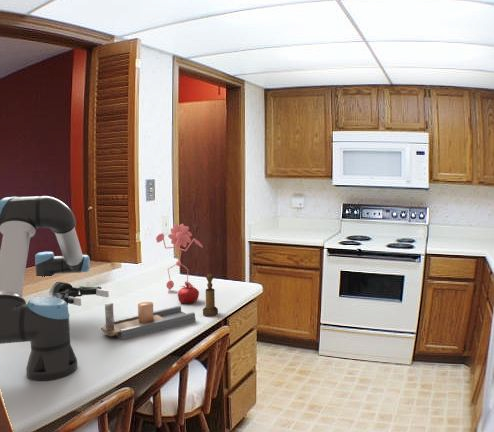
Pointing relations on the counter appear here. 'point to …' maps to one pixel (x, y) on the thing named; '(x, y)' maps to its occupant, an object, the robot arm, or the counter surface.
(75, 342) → the counter surface
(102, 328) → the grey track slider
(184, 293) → the pomegranate
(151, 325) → the track
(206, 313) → the bronze statuette
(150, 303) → the canister
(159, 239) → the pink branching stem figurine
